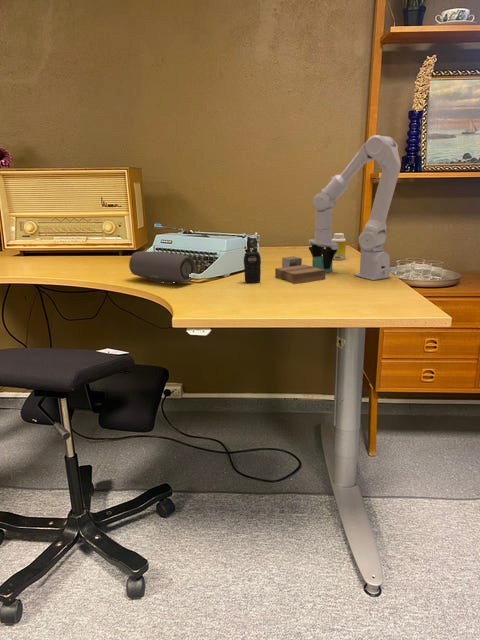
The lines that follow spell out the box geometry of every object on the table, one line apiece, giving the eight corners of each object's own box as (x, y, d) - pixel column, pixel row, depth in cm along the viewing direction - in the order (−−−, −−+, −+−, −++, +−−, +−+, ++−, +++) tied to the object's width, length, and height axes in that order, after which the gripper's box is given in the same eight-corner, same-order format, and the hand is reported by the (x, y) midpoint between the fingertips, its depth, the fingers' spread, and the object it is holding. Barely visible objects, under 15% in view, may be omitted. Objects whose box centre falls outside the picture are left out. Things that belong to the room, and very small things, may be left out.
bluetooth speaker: (198, 282, 156) (196, 252, 153) (179, 288, 149) (177, 257, 146) (148, 276, 168) (146, 248, 166) (129, 281, 161) (126, 252, 158)
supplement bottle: (347, 259, 190) (349, 233, 187) (339, 260, 187) (340, 234, 184) (337, 257, 195) (338, 232, 191) (328, 259, 191) (328, 233, 188)
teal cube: (332, 271, 167) (332, 257, 166) (320, 273, 165) (321, 259, 164) (323, 269, 172) (323, 255, 170) (312, 270, 170) (312, 257, 168)
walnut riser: (325, 279, 156) (325, 270, 155) (295, 283, 151) (295, 274, 150) (304, 273, 166) (304, 264, 165) (275, 277, 161) (275, 268, 160)
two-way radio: (244, 283, 153) (243, 237, 148) (244, 280, 157) (243, 235, 153) (261, 283, 153) (260, 236, 148) (260, 280, 157) (260, 234, 153)
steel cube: (301, 272, 169) (301, 258, 167) (289, 273, 166) (289, 259, 165) (293, 269, 173) (293, 256, 171) (282, 271, 171) (282, 257, 169)
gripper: (345, 229, 160) (344, 269, 164) (320, 226, 172) (319, 263, 176) (329, 231, 157) (328, 271, 161) (304, 227, 169) (303, 265, 173)
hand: (322, 267), depth 168 cm, fingers closed on teal cube, 5 cm apart
